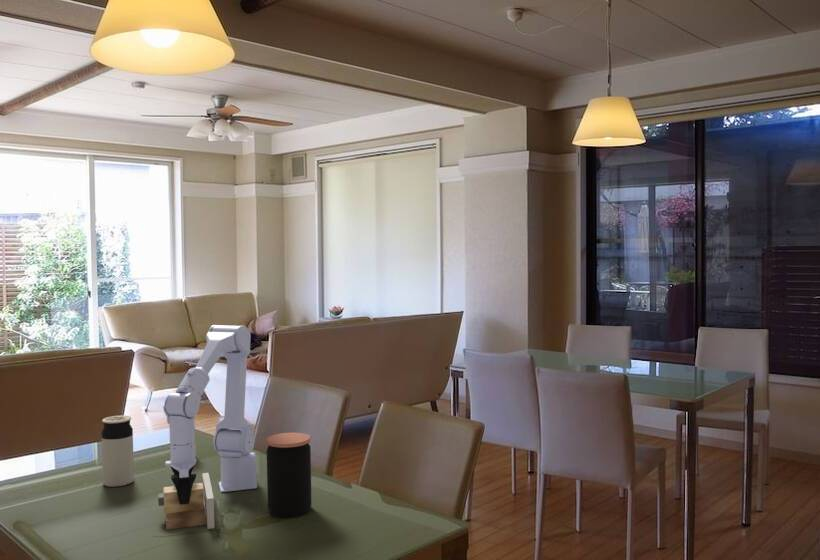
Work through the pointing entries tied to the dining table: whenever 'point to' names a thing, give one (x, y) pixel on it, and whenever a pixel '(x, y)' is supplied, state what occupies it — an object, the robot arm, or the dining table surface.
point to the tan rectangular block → (172, 503)
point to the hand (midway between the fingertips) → (183, 498)
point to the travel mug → (117, 451)
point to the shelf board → (208, 500)
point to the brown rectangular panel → (186, 519)
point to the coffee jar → (289, 474)
